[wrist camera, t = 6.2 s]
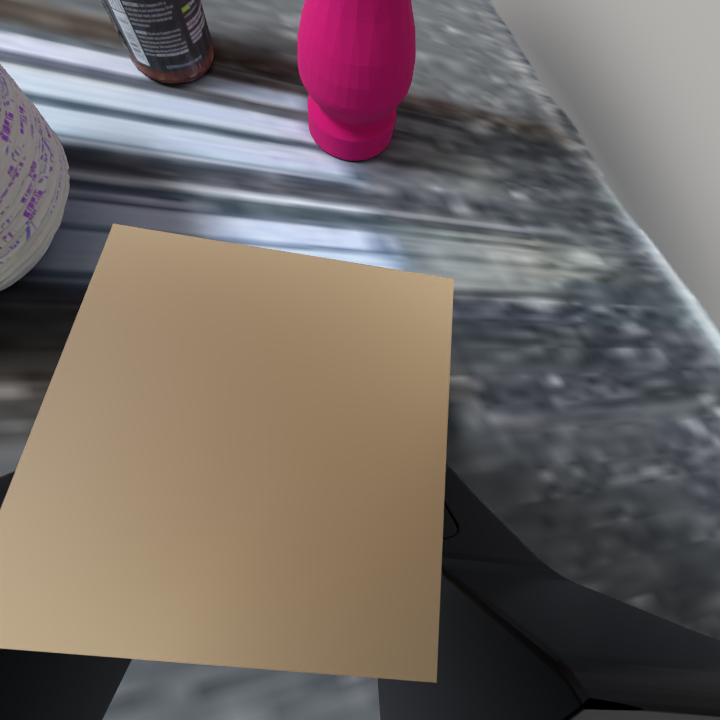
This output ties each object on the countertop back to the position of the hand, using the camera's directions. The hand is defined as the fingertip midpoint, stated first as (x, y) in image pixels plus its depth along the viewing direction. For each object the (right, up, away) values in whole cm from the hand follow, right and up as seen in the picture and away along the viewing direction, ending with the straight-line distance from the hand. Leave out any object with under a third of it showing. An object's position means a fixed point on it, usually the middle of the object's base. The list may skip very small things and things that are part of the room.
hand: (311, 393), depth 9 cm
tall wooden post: (-1, -3, +7) cm, 8 cm away
